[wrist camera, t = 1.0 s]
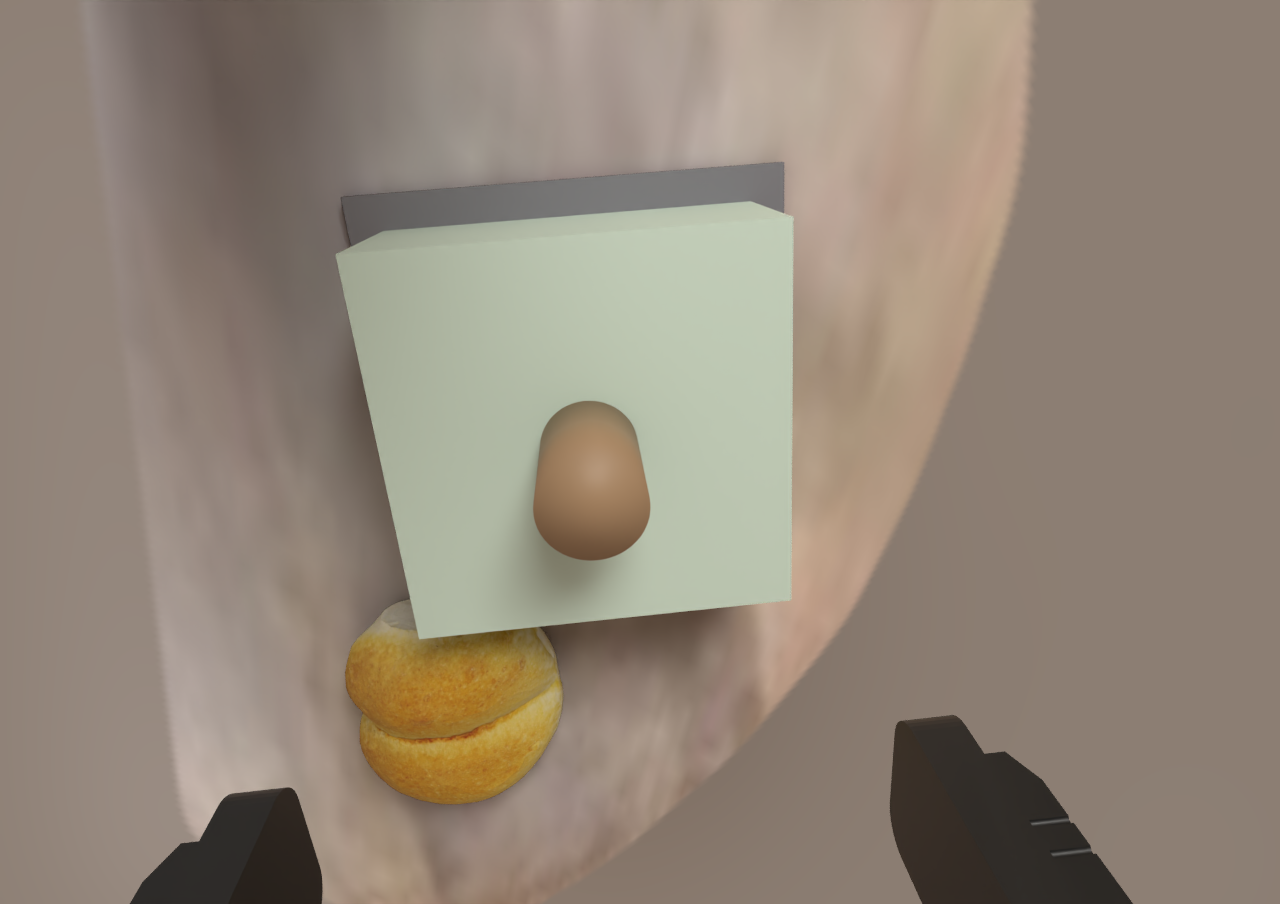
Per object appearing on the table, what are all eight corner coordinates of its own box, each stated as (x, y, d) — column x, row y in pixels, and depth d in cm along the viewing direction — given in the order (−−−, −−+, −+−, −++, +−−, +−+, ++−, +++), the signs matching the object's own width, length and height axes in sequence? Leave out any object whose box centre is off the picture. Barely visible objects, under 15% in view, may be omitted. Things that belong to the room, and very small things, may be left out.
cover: (383, 231, 24) (279, 281, 16) (750, 201, 25) (842, 234, 16) (445, 554, 29) (390, 730, 20) (755, 523, 29) (829, 682, 21)
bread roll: (381, 771, 33) (356, 850, 30) (342, 595, 30) (309, 659, 26) (571, 754, 34) (571, 829, 30) (554, 579, 30) (551, 639, 27)
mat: (344, 196, 24) (340, 197, 24) (780, 162, 25) (784, 162, 25) (423, 576, 30) (421, 582, 29) (781, 540, 30) (783, 545, 30)
